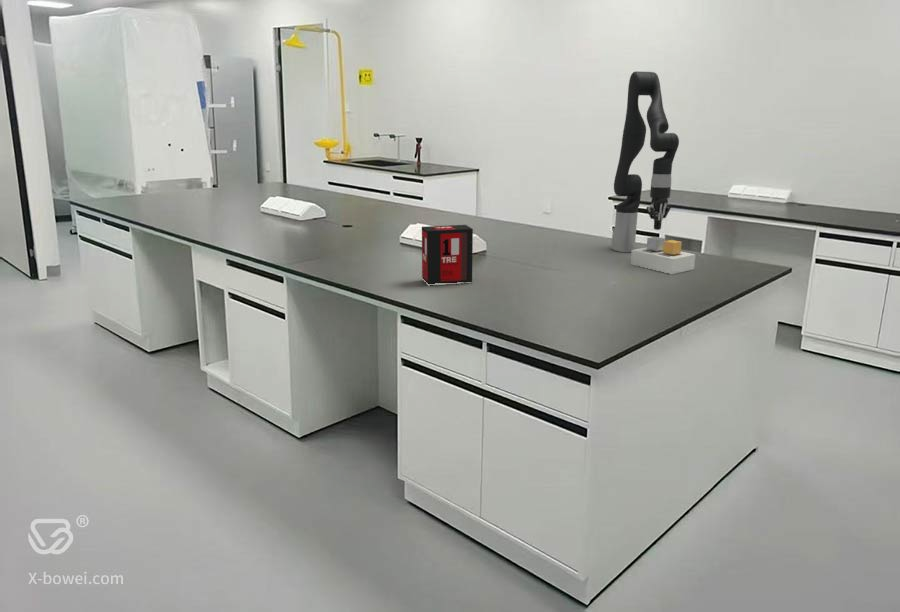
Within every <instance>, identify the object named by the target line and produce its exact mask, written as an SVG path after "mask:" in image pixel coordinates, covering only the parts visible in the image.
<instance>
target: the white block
mask: <svg viewBox="0 0 900 612" xmlns="http://www.w3.org/2000/svg"><path fill="white" fill-rule="evenodd" d="M664 241H666V238H664V237H659V236H651V237H647V239H646V247H647V248H646V247H645V248H646V249H649V250H654V251H659V250H663V244H664Z"/></svg>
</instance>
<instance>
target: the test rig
mask: <svg viewBox="0 0 900 612" xmlns="http://www.w3.org/2000/svg"><path fill="white" fill-rule="evenodd" d="M646 248H647V246H646V247H641V248H636V249H634V250H632V252H630V263H629V264H630V265H631V266H635V267H639V266H640V268H643V267H644V268H643V269H647V268H648V270H651V269H652V271H655V270H656V272H659V271H661V272H660V273H663V272H664V273H665V274H668V273H669V275H675V274H680V273H684V272H688V271H689V272H690V271H694V270H695V263H696V254H695V253H691V252H685V251H681V253H679V254H674V255H672V254H667V253H663V250H659V251H654V250H649V249H646Z"/></svg>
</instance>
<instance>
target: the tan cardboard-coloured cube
mask: <svg viewBox="0 0 900 612" xmlns="http://www.w3.org/2000/svg"><path fill="white" fill-rule="evenodd" d="M682 243H683V242H682V241H679V240H675V239H670V240H665V241H664V244H663V253H667V254H672V255H674V254H679V253H681V252H682V246H683V245H682Z"/></svg>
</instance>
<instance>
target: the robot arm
mask: <svg viewBox="0 0 900 612" xmlns="http://www.w3.org/2000/svg"><path fill="white" fill-rule="evenodd" d="M627 87H628V89H627V99H626V100H627V103H626V104H627V105H626V114H625V121H624V126H623V131H622V138H621V148H620V152H619V153H620V154H619V159H618V163H617V164H618V165H617V168H616V172H615V177H614V182H613V190H614V191H613V192H614V194H615V196H617V197H626V198H625V199H624V200H623V201H622V202H620V203H618V204H616V207H615V221H614V227H613V228H612V234H611V235H612V237H611V250H613V251H615V252H621V253H631V252H632V250H634V249H635V248H636V235H637V224H638V212H639V211H638V210H639V207H640V203H641V198H642V197H641V195H642V188H643V181H642V178H641V176H640V175H639V174H635V173H634V174H630V173H629V172H630V168H631V166H632V164H633V162H634V161H635V159H636V158H637V156H638V155H639V154H640V152H641V151H642V149H643V148H644V145H645V141H646V136H647V135H646V134H647V125H648V127H649V130H650V133H649V135H650V140H649V146H650V149H651V150H652V151H654V152H655V153H662V152H663V153H664V155H663V156H662V157H657V158H655V159H654V160H653V164H652V175H651V179H650V193H649V196H650V198H651V201H650V205H649V206H646V210H647V213H648V215H649V218H650V219H651V220H653V229H654V230H656V231H658V230H659V231H660V230H661V229H662V223H663V222H662V221H663V220H664V219H665V218H667V216H668V214H669V212H670V211H671V209H672V205H671V204H669V200H668V199H669V198H670V197H671V190H672V189H671V188H672V170H673V169H672V168H673V163H674V159H675V156H676V153H677V151H678V148H679V145H680V138H679V136H678V135H677V133H676V132H675V133H674V132H668V130H669V127H670V125H669V122H668V119H667V116H666V112H665V109H664V106H663V105H664V103H663V97H662V90H661V82H660V78H659V76H658V74H657V73H656V72H653V71H633V72H632V73H631V74H630V77H629V80H628V86H627ZM640 96H646V97H647V96H649V98H650V99H651V102H650V104H649V106H648V109H647V111H646V120H647V125H646V123H645V120H644V118H643V116H642V114H641V111H640V108H639V97H640Z"/></svg>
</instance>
